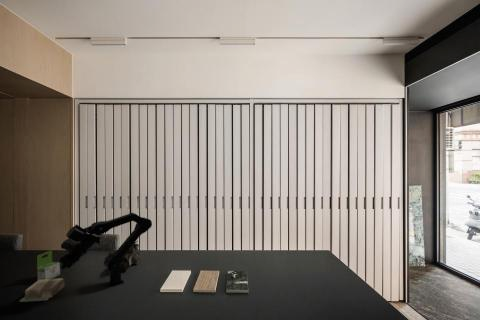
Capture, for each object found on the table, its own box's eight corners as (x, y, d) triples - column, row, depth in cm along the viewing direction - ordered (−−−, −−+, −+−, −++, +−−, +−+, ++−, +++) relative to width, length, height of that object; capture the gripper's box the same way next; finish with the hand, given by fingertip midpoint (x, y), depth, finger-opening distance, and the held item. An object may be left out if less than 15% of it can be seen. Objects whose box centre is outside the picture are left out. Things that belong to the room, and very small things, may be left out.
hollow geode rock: (119, 282, 167) (137, 264, 166) (103, 267, 167) (120, 248, 166) (138, 262, 195) (153, 246, 194) (124, 249, 195) (139, 233, 194)
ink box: (45, 282, 158) (44, 256, 158) (36, 281, 159) (36, 256, 159) (60, 274, 168) (59, 250, 168) (52, 273, 169) (51, 249, 169)
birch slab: (64, 278, 152) (39, 279, 150) (52, 288, 140) (25, 290, 139) (64, 285, 152) (39, 287, 151) (52, 297, 140) (25, 298, 139)
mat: (62, 285, 153) (62, 284, 153) (47, 300, 138) (46, 298, 138) (37, 287, 152) (37, 286, 152) (19, 302, 137) (19, 300, 137)
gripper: (80, 229, 155) (58, 251, 154) (63, 240, 137) (38, 265, 136) (96, 243, 157) (75, 265, 156) (81, 255, 138) (57, 280, 137)
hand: (62, 268), depth 146 cm, fingers closed
